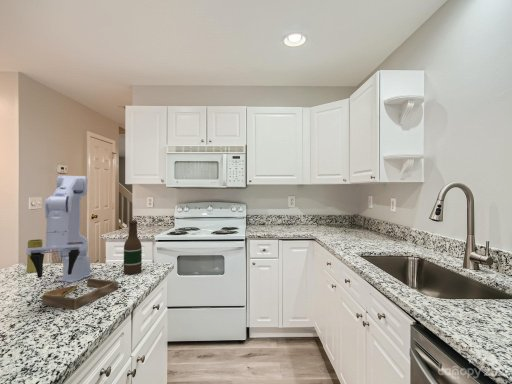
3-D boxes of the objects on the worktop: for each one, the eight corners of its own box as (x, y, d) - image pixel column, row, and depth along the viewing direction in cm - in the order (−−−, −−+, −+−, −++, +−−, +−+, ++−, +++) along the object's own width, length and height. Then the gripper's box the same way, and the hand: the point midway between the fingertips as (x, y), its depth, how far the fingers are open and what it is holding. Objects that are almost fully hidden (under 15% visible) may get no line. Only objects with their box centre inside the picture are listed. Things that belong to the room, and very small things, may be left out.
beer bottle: (136, 269, 126) (136, 219, 126) (145, 272, 122) (145, 220, 122) (119, 273, 120) (120, 220, 120) (128, 276, 115) (129, 222, 115)
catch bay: (89, 285, 103) (89, 278, 103) (117, 289, 100) (118, 281, 100) (42, 304, 86) (42, 295, 86) (75, 309, 83) (75, 300, 83)
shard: (78, 288, 102) (78, 283, 102) (84, 293, 97) (84, 288, 97) (42, 296, 94) (43, 291, 94) (47, 302, 89) (47, 297, 89)
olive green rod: (35, 268, 125) (35, 238, 125) (46, 269, 124) (47, 239, 124) (22, 272, 119) (22, 241, 119) (34, 273, 118) (34, 241, 118)
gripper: (24, 233, 78) (21, 280, 76) (81, 230, 85) (80, 274, 83) (31, 234, 85) (29, 277, 83) (85, 231, 91) (83, 271, 89)
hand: (55, 275), depth 83 cm, fingers open, 7 cm apart
